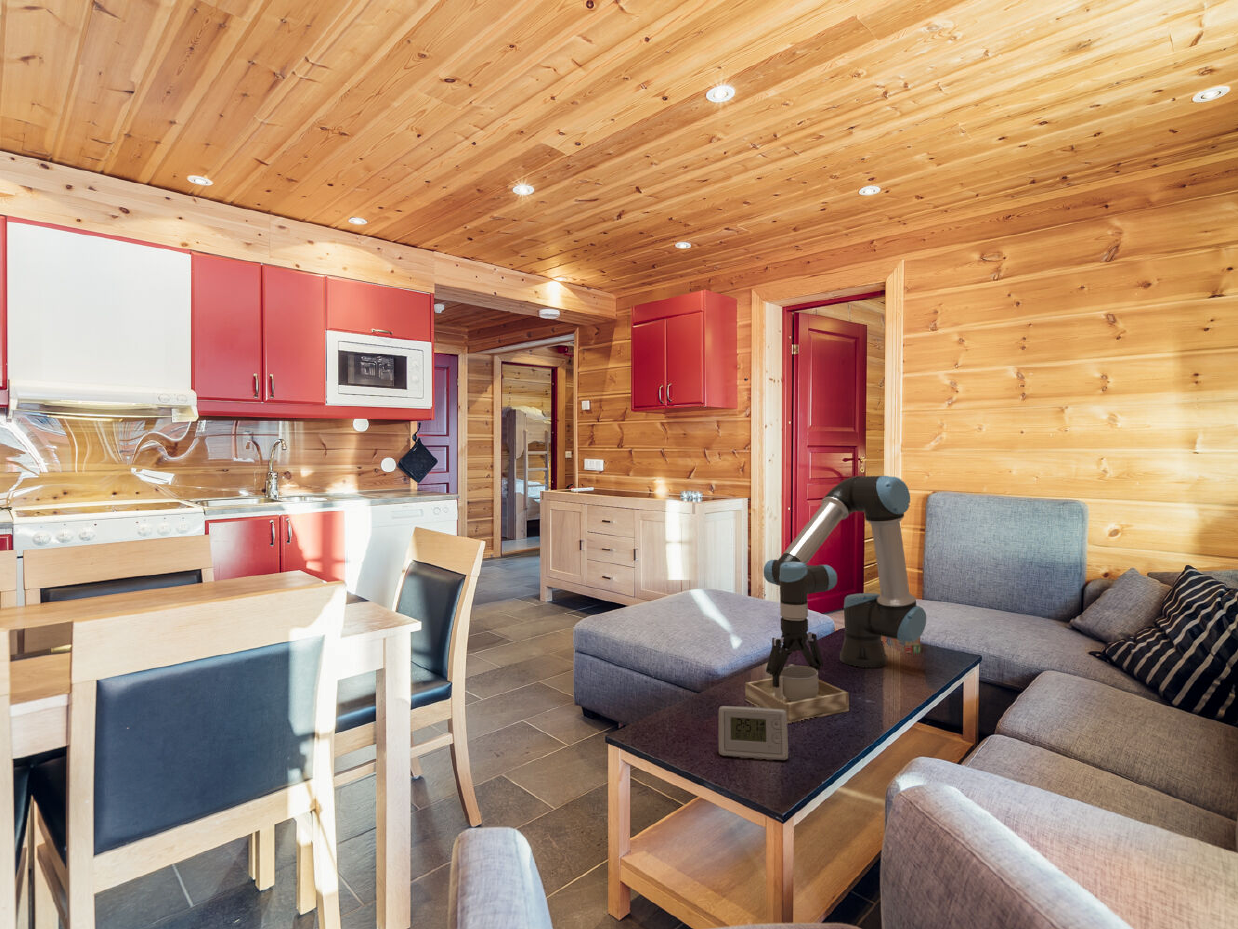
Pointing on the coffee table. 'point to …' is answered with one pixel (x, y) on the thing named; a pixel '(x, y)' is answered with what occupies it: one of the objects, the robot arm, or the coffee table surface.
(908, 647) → the stack of blocks
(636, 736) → the coffee table surface
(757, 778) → the coffee table surface
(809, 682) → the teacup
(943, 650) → the coffee table surface
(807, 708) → the walled box
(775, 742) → the digital clock
